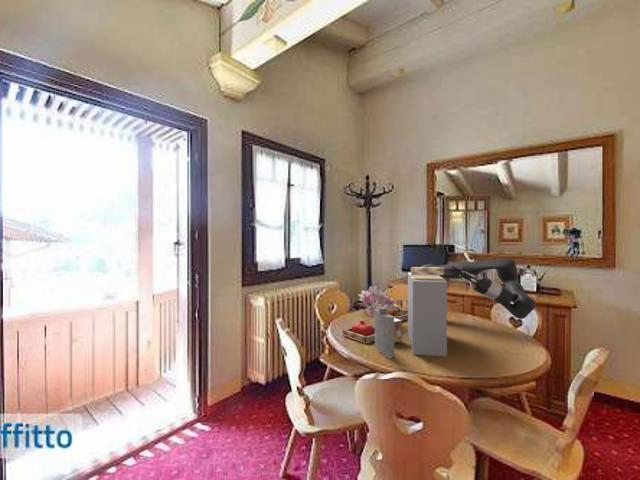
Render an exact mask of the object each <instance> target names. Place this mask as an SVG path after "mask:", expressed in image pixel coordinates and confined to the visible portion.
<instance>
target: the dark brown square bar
mask: <svg viewBox="0 0 640 480" xmlns="http://www.w3.org/2000/svg"><path fill="white" fill-rule="evenodd" d="M451 269H452V268H451V267H421V266H420V267H419V266H412V267H410V272H411V274H412V275H458V274H456V273H454V272H453V271H451ZM458 269H459V270H461V271H463V268H458Z"/></svg>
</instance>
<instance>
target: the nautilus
mask: <svg viewBox="0 0 640 480" xmlns="http://www.w3.org/2000/svg"><path fill="white" fill-rule="evenodd" d="M379 305H381V303H379ZM379 305H378V306H379ZM393 305H394V306H395V308H396V309H397V310H398V312H397V310H394V309H393V310H391V309H389V310H388V311H386V313H388V314H389V315H392V316H395V317H398V316H400V315H401V314H400V311H401V310H400V309H401V308H400V307H399V306H398V305H397V304H396V303H394V304H393ZM384 306H385V305H384ZM377 309H378V308H377Z"/></svg>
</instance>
